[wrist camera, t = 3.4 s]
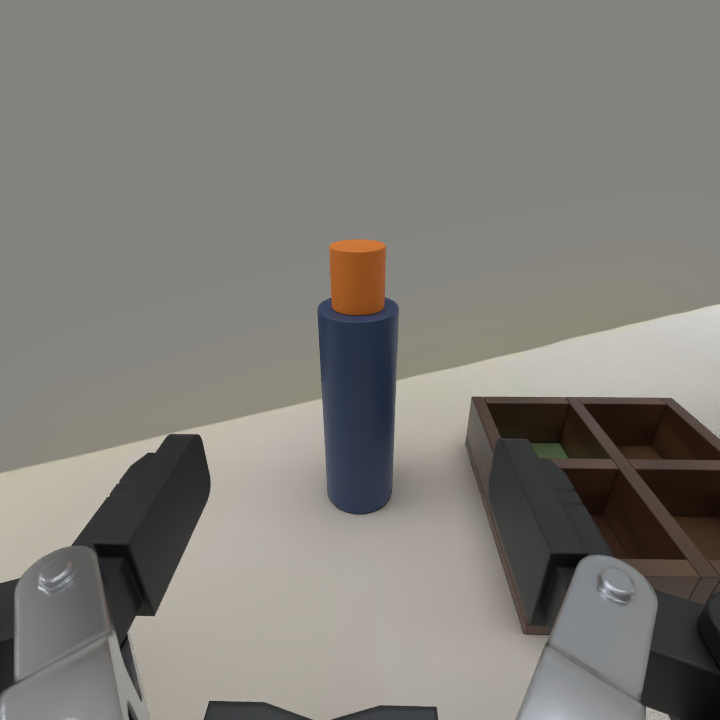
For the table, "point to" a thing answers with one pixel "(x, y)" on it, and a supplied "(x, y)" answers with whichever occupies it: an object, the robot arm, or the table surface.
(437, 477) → the table surface
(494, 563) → the table surface
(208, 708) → the robot arm
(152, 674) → the table surface
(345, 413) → the bottle
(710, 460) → the organizer
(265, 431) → the table surface
